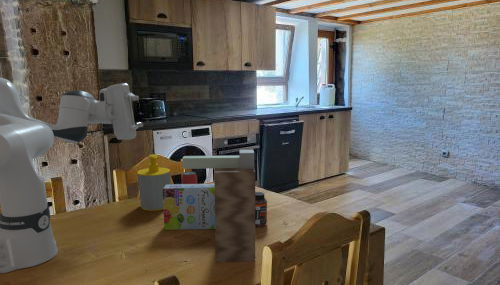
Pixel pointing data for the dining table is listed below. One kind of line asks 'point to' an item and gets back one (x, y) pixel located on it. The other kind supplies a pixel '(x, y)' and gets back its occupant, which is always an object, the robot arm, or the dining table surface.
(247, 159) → the bar
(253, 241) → the walnut stand
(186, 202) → the snack box
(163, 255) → the dining table surface
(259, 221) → the supplement bottle
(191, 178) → the beer can
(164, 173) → the grey canister
